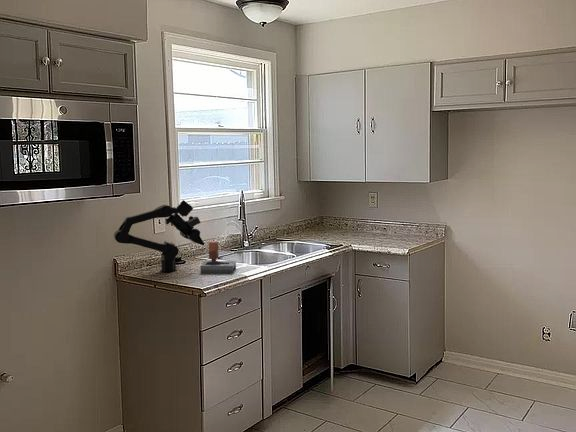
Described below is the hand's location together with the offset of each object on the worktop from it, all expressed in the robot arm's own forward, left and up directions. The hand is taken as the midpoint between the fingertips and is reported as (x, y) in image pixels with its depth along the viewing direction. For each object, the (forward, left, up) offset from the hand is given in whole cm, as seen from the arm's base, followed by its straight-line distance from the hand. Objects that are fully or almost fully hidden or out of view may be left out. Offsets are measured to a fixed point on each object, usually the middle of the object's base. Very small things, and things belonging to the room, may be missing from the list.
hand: (201, 243), depth 312 cm
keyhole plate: (0, -13, -13) cm, 18 cm away
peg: (+6, -3, -13) cm, 14 cm away
